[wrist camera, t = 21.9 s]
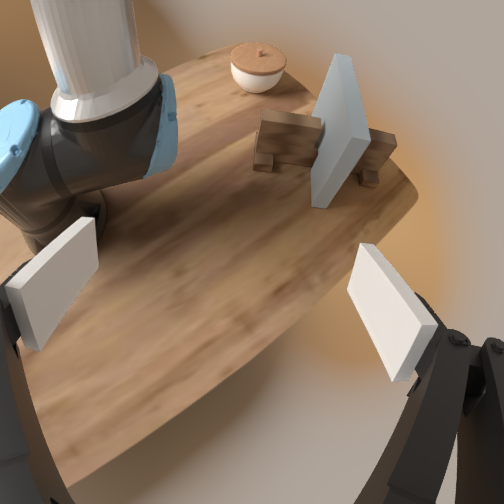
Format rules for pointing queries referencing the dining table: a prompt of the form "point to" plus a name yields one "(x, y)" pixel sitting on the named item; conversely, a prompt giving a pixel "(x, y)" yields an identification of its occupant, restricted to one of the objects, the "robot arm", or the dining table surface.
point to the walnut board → (312, 145)
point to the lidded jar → (257, 66)
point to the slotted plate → (338, 131)
